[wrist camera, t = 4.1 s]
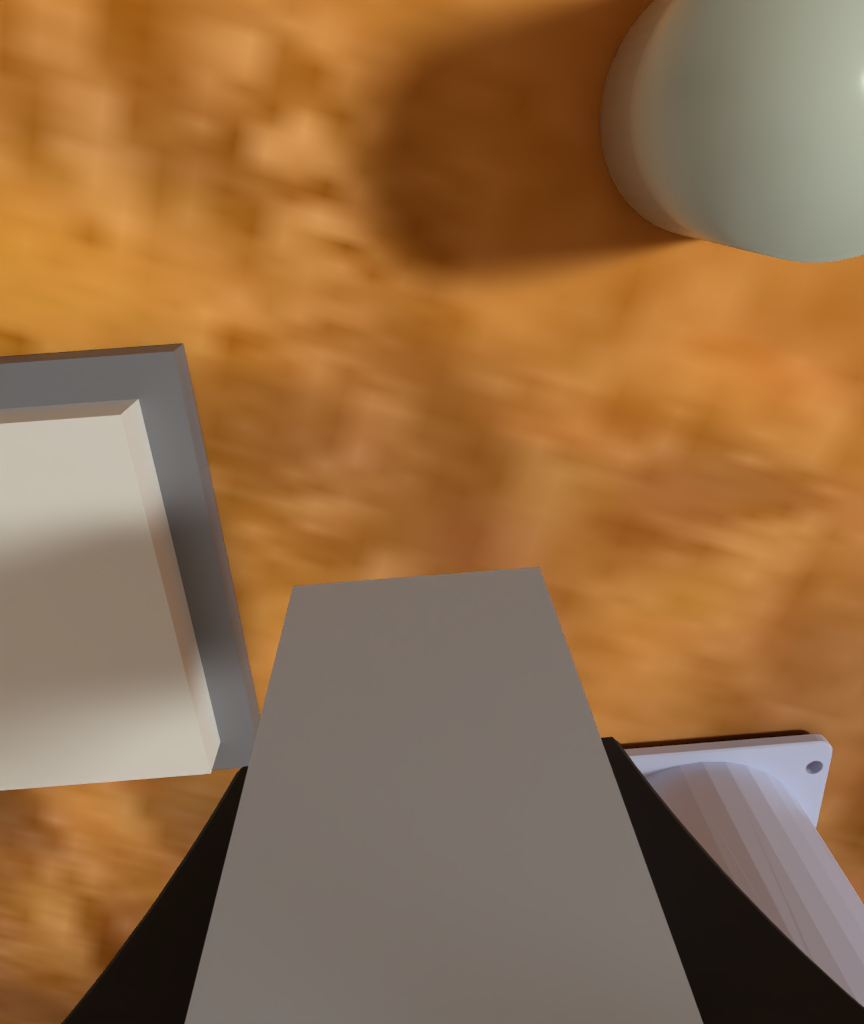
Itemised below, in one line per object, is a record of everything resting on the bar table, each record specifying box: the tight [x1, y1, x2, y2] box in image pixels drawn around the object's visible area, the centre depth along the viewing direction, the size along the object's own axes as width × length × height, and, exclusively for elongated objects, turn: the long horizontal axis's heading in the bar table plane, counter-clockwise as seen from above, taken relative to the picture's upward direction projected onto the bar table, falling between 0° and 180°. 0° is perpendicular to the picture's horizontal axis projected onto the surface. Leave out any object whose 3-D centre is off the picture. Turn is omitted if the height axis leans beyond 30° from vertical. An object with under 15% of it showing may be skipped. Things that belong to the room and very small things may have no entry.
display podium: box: [0, 344, 260, 790], centre depth 19 cm, size 12×11×2 cm
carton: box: [185, 567, 703, 1024], centre depth 9 cm, size 4×4×8 cm
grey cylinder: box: [600, 0, 864, 262], centre depth 13 cm, size 5×5×5 cm
